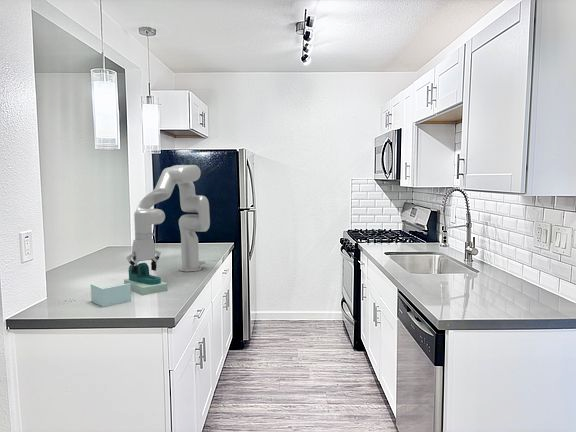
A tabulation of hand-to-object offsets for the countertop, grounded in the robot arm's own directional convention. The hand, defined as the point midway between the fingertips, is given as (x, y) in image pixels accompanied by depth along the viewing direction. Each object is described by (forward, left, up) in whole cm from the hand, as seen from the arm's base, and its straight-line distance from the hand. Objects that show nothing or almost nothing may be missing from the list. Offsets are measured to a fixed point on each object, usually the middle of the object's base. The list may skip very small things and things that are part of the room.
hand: (144, 272), depth 205 cm
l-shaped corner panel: (+21, +8, -8) cm, 24 cm away
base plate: (0, 0, -8) cm, 8 cm away
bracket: (0, 0, -5) cm, 5 cm away
